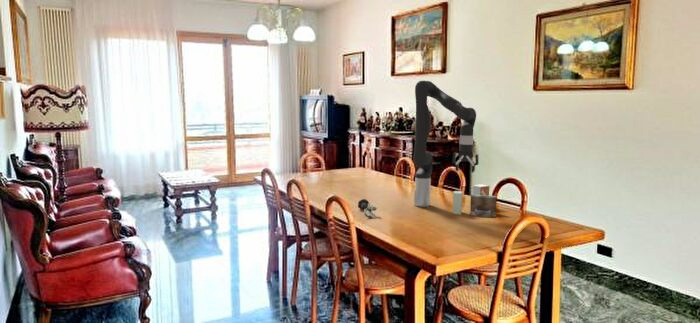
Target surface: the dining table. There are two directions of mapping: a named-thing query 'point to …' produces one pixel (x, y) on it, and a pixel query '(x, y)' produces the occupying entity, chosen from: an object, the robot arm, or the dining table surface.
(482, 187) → the small box
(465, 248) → the dining table surface
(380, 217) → the dining table surface
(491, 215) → the cleat stand
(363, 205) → the artificial flower
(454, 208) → the block
